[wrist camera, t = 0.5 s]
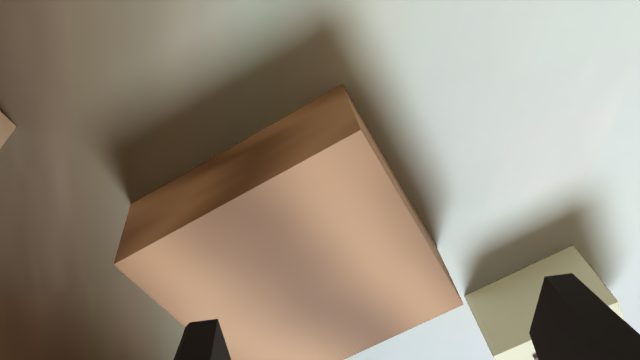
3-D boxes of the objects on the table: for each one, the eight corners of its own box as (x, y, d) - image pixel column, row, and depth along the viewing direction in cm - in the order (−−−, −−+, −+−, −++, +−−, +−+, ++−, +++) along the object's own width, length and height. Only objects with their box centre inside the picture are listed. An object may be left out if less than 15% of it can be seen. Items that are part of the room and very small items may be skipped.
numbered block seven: (497, 351, 31) (530, 417, 27) (462, 293, 28) (494, 360, 24) (595, 308, 30) (641, 371, 26) (571, 242, 26) (620, 305, 23)
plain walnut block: (261, 327, 27) (264, 396, 24) (132, 199, 22) (113, 264, 19) (434, 243, 26) (463, 304, 22) (340, 80, 20) (360, 129, 17)
